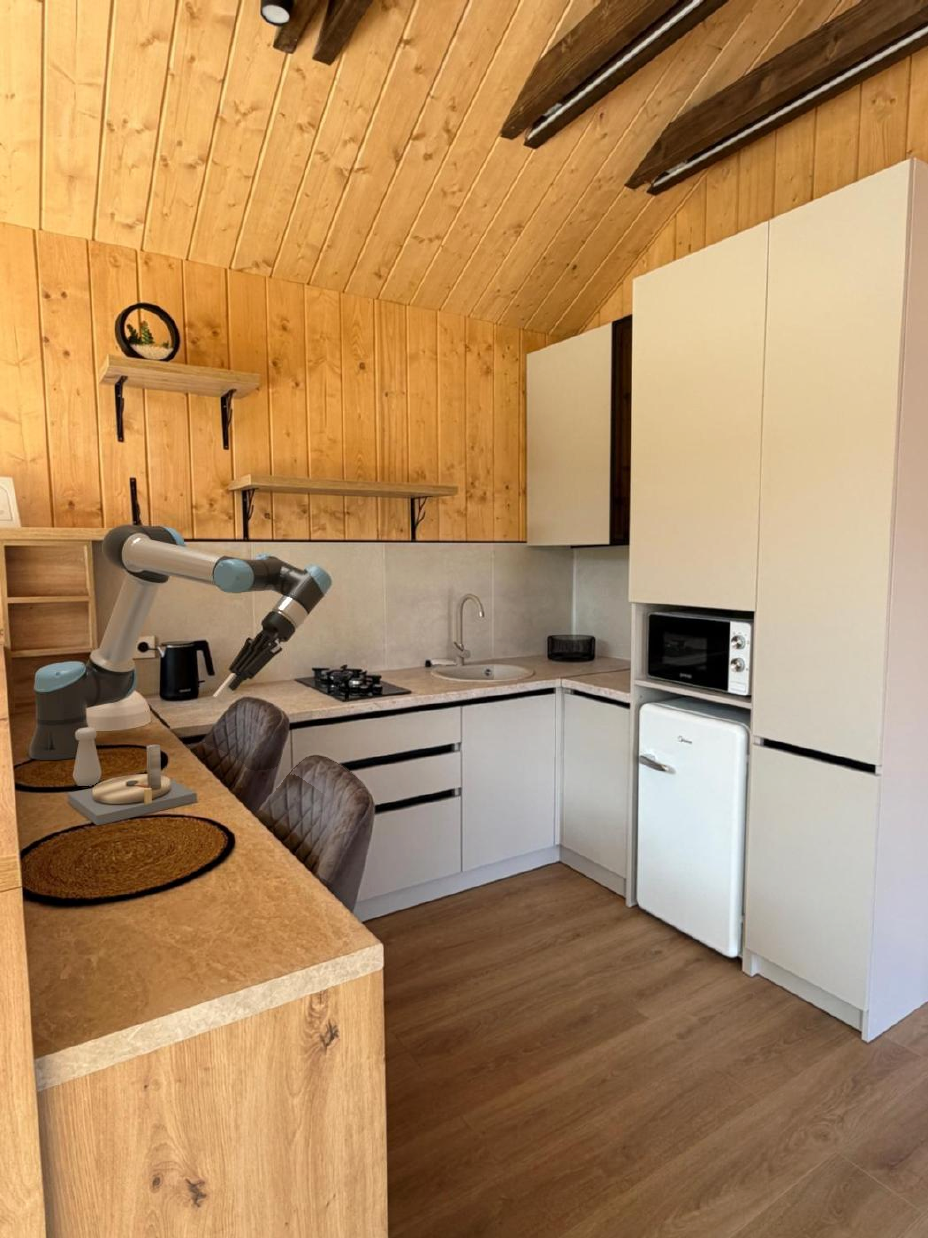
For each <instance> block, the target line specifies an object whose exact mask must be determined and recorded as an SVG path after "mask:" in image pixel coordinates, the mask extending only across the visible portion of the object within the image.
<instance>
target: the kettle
mask: <svg viewBox="0 0 928 1238" xmlns="http://www.w3.org/2000/svg"><path fill="white" fill-rule="evenodd" d="M86 712H87V713H86V714H87V723H88V726H89V728H94V729H95V730H96V732H115V731H116V732H117V731H124V730H132V729H135V728H140V727H144V726H146V725H149V724H150V723H152V715H151V710H150V706H149V704H148V701H147V700H146V699H145V697H143V695H141V693H139V692H138V691H136V689H135V690H134V692H133V693H132V694H131V695H130V696H129V697H127V698H126V699H123V700H120V701H118V702H115V703H109V704H104V705H99V706H95V707H90V708H86Z"/></svg>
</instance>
